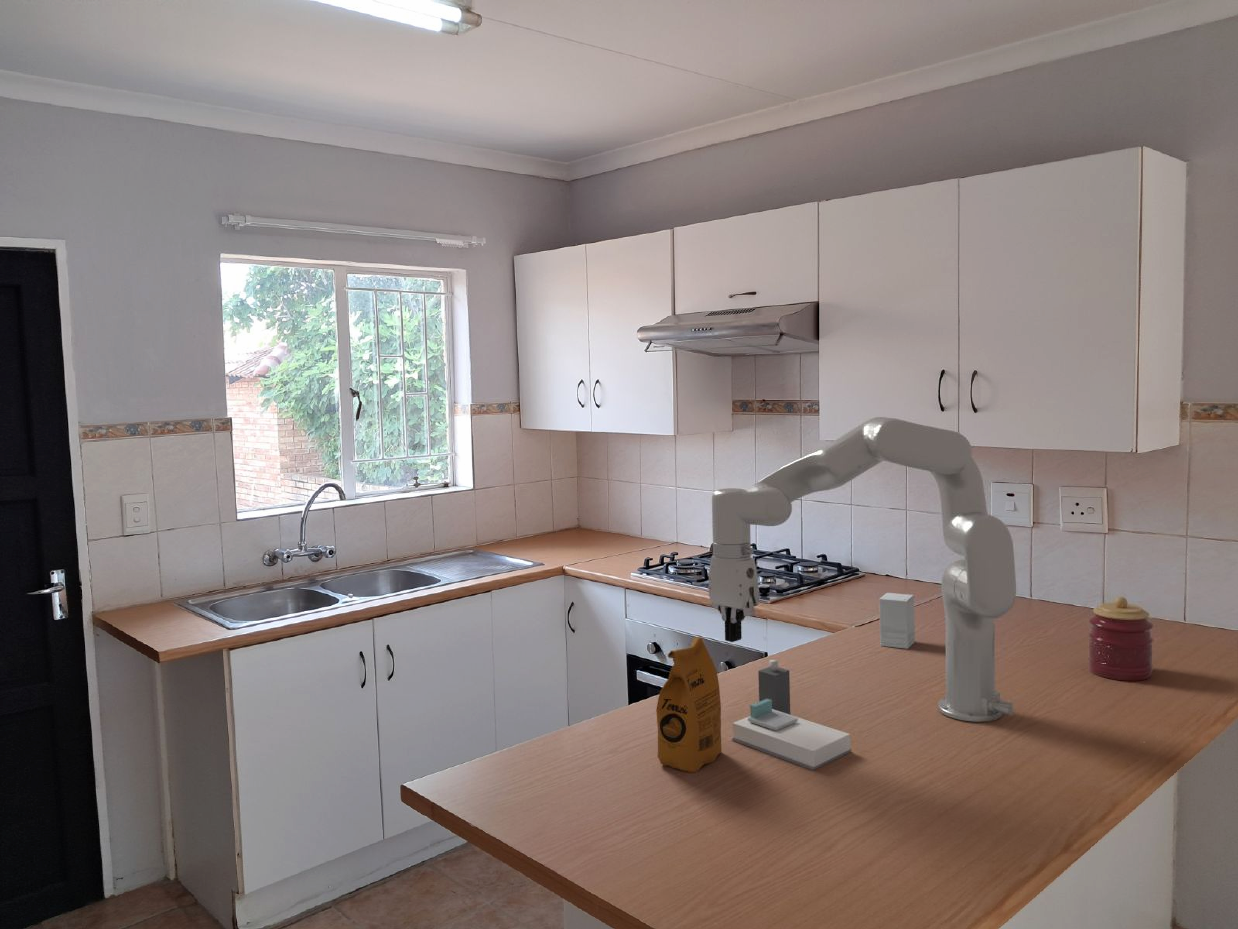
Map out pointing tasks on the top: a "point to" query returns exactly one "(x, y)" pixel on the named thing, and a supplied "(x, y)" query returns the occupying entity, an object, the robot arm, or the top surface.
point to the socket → (794, 741)
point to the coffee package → (689, 710)
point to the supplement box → (897, 620)
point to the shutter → (769, 716)
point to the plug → (775, 686)
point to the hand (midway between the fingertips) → (733, 640)
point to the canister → (1120, 641)
